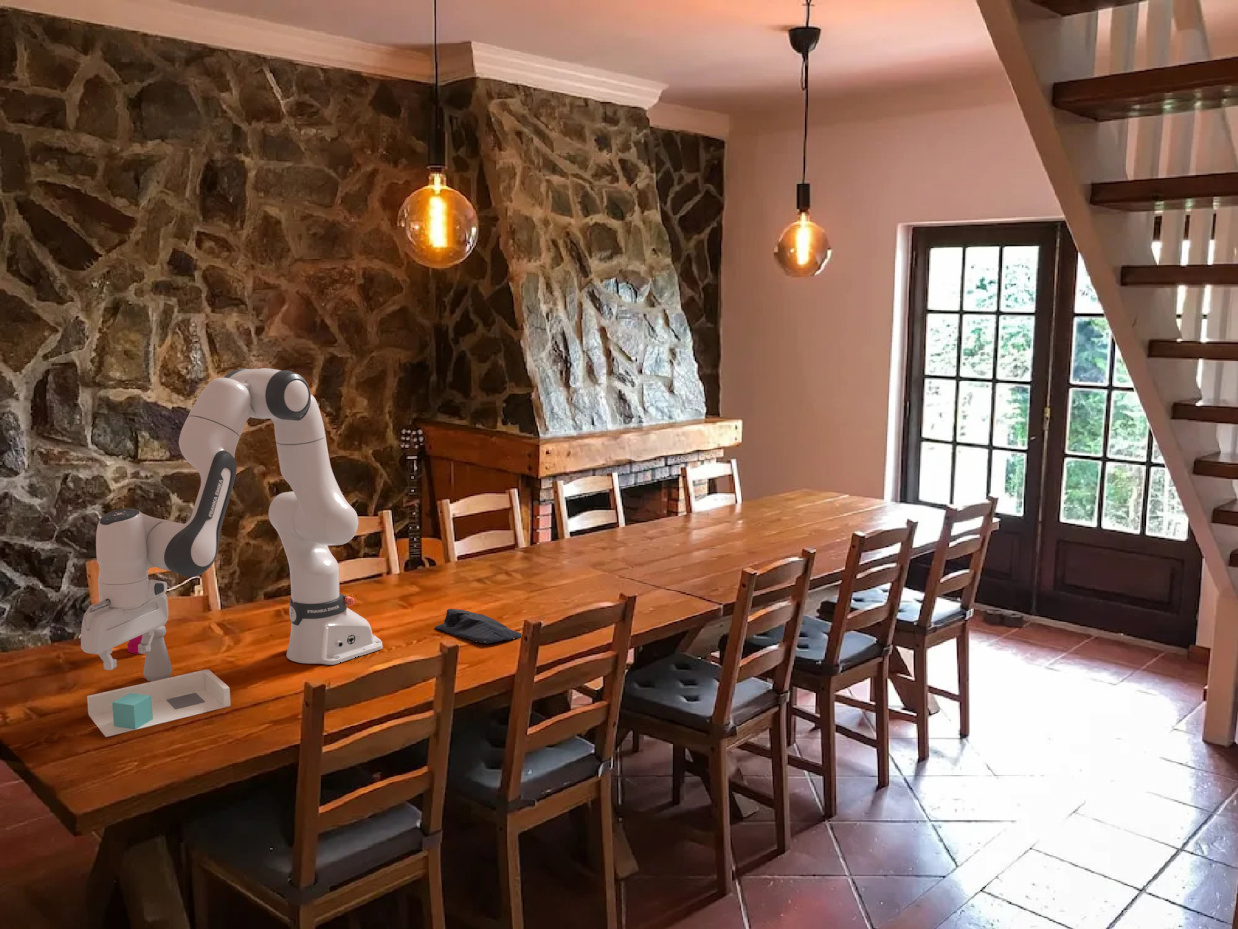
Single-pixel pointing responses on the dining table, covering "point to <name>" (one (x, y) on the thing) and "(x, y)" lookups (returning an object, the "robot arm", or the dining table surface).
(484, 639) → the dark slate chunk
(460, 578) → the dining table surface
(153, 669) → the salt shaker
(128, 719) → the cube
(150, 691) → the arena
